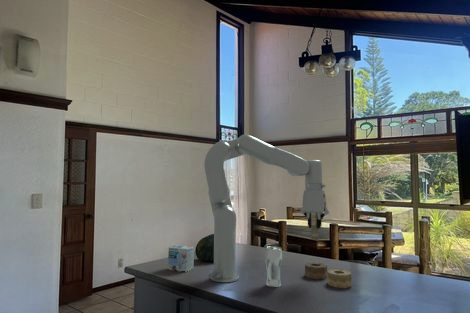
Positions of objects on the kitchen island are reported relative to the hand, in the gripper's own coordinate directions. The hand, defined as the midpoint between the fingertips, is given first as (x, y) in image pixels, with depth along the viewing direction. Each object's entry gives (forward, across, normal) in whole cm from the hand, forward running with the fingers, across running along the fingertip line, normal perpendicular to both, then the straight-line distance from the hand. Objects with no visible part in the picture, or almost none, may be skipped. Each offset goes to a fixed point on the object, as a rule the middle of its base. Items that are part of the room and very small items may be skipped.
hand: (314, 227), depth 154 cm
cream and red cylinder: (+5, 0, 0) cm, 5 cm away
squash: (+21, +58, 0) cm, 62 cm away
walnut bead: (+22, 0, -1) cm, 22 cm away
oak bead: (+22, -12, +6) cm, 26 cm away
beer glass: (+22, +11, +21) cm, 32 cm away
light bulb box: (+21, +59, +23) cm, 67 cm away
